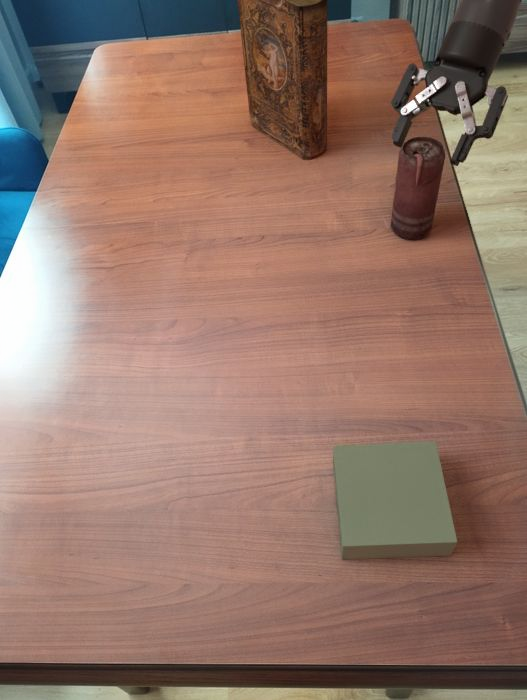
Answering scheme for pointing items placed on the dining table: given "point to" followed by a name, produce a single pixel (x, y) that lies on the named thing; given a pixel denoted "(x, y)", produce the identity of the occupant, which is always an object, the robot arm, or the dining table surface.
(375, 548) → the plate
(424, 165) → the can
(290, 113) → the book
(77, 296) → the dining table surface
